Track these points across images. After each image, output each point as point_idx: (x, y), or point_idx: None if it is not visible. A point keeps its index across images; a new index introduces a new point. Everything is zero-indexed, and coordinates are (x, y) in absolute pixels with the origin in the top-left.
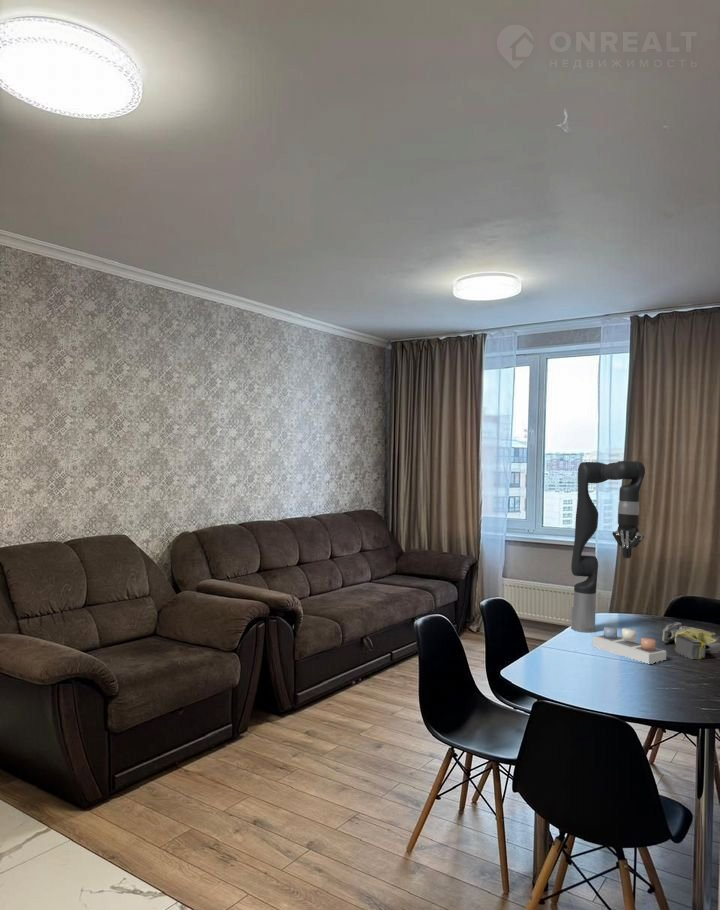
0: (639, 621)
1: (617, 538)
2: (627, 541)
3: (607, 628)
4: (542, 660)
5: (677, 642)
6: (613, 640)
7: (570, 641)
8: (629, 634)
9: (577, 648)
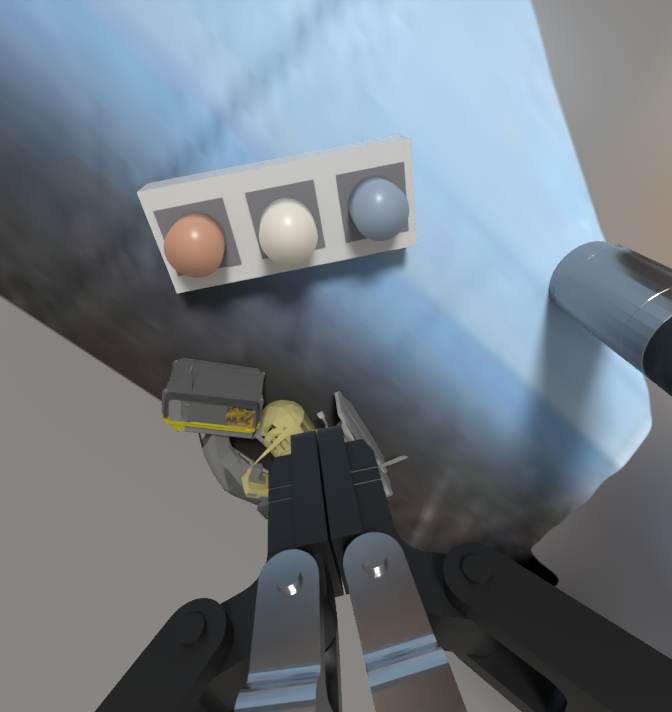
0: (542, 473)
1: (605, 692)
2: (254, 710)
3: (385, 197)
4: None
5: (253, 389)
6: (337, 187)
7: (490, 84)
8: (264, 215)
9: (402, 33)
